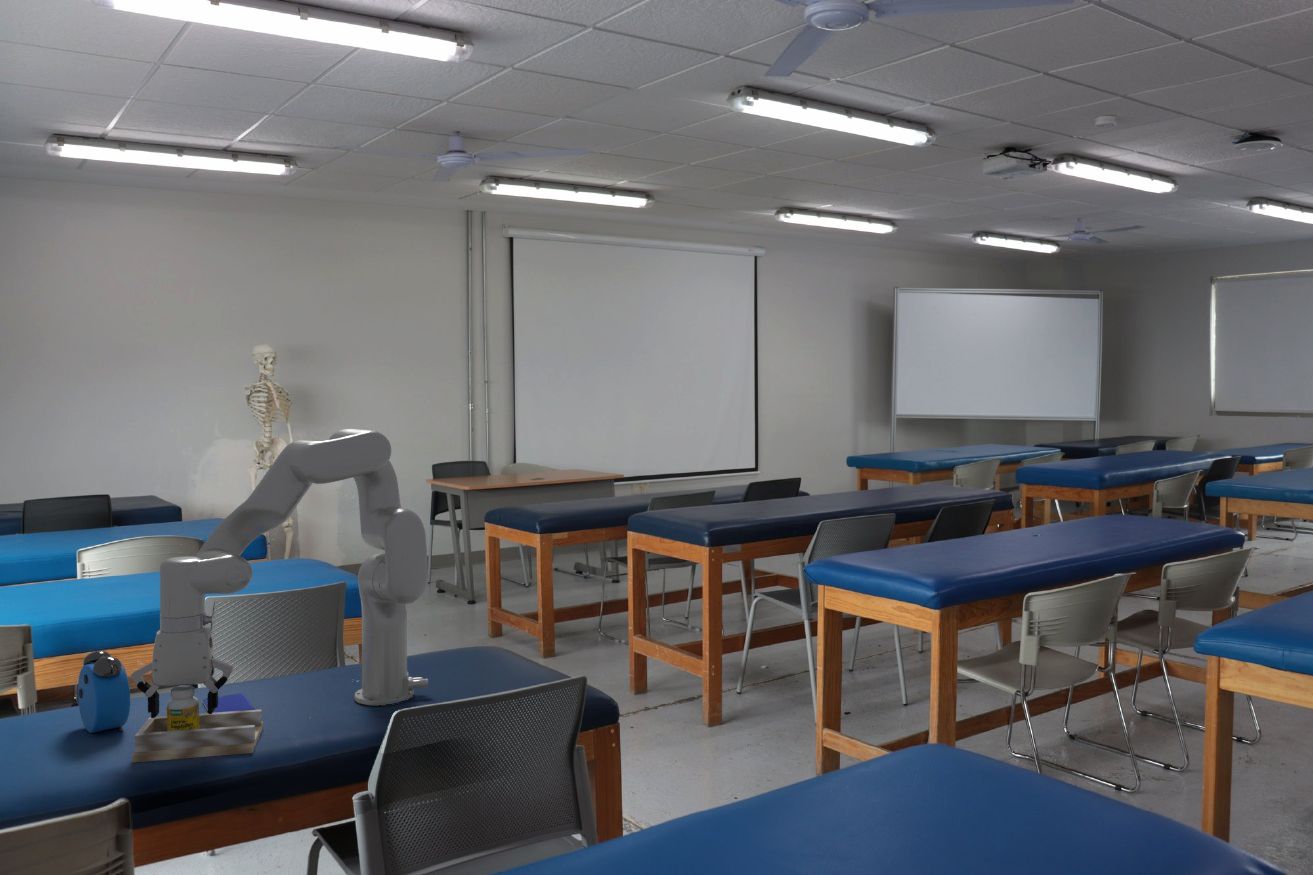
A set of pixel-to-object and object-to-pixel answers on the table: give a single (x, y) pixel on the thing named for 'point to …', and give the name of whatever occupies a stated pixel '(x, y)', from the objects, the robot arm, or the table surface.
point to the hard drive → (231, 703)
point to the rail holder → (199, 737)
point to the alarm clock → (103, 692)
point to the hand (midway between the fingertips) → (183, 713)
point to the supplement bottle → (183, 709)
